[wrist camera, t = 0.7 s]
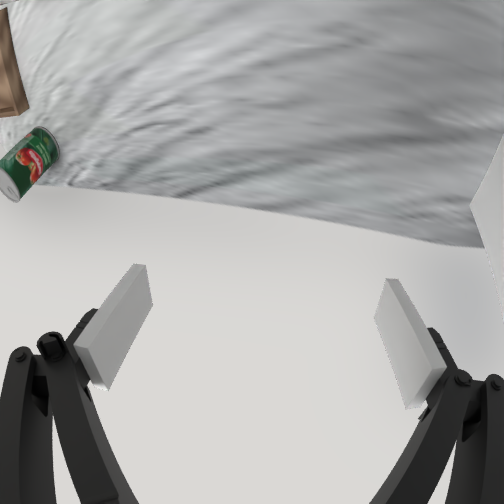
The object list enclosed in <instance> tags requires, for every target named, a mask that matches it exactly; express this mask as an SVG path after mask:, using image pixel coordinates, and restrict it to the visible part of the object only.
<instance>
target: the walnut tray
mask: <svg viewBox="0 0 504 504" xmlns="http://www.w3.org/2000/svg"><path fill="white" fill-rule="evenodd" d="M28 108H29V105H28V102H27V98H26V95H25V92H24V88H23V85H22V81H21V77H20V74H19V70H18V66H17V62H16V57H15V53H14V48H13V43H12V38H11V33H10V27H9V20H8V13H7V7H6V8H4V9H2V10H0V118H2V117H10V116H19V115H20V114H22V113H23V112H24V111H26V110H27V109H28Z"/></svg>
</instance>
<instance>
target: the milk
mask: <svg viewBox="0 0 504 504" xmlns="http://www.w3.org/2000/svg"><path fill="white" fill-rule="evenodd" d="M469 207H470V209H471V212H472V214H473V217H474V219H475V222H476V224H477V227H478V230H479V233H480V235H481V238H482V241H483V244H484V247H485V250H486V253H487V256H488V260H489V263H490V267H491V270H492V274H493V277H494V281H495V285H496V289H497V293H498V298H499V302H500V307H501V311H502V316H503V322H504V134H503V136H502V139H501V141H500V143H499V146H498V148H497V150H496V153H495V155H494V157H493V159H492V162H491V164H490V166H489V168H488V170H487V172H486V174H485V176H484V178H483V180H482V182H481V184H480V186H479V188H478V190H477V192H476V194H475V196H474V198H473V199H472V201H471V203H470V205H469Z"/></svg>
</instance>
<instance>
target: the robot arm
mask: <svg viewBox="0 0 504 504" xmlns="http://www.w3.org/2000/svg"><path fill="white" fill-rule="evenodd" d="M152 306H153V303H152V298H151V293H150V288H149V282H148V276H147V270H146V265H140V264H133V265H132V267H131V268H130V269H129V270H128V271H127V273H126V274H125V275H124V276H123V278H122V279H121V280H120V282H119V283H118V284H117V285H116V287H115V288H114V290H113V291H112V292H111V293H110V295H109V296H108V297H107V299H106V300H105V301H104V303H103V304H102V305H101V307H100V308H99V309H94V308H93V309H91V310H90V311H89V312H87V313H86V314H85V315H84V316H83V317H82V319H81V320H80V322H79V323H78V324H77V325H76V328H74V330H73V331H72V332H71V334H70V335H69V336H68V338H67V339H66V341H64V339H63V337H62V335H61V334H60V333H58V332H48V333H46V334H44V335H42V336H41V337H40V338H39V340H38V341H37V348H38V349H39V351H40V353H41V355H33V353H32V352H31V350H30V349H29V348H28V347H24V346H22V347H19V348H17V349H15V350H14V351H13V352H12V353H11V355H10V358H9V362H8V365H7V369H6V374H5V378H4V382H3V387H2V392H1V397H0V504H57V503H56V495H55V485H54V472H53V451H52V419H53V416H54V420H55V425H56V429H57V433H58V436H59V440H60V444H61V447H62V451H63V454H64V457H65V460H66V464H67V467H68V470H69V473H70V475H71V478H72V481H73V484H74V487H75V489H76V492H77V494H78V497H79V499H80V502H81V504H139V503H138V501H137V499H136V498H135V496H134V494H133V492H132V490H131V488H130V487H129V485H128V483H127V481H126V479H125V477H124V475H123V473H122V471H121V469H120V467H119V464H118V463H117V460H116V458H115V456H114V454H113V451H112V449H111V447H110V444H109V442H108V440H107V437H106V435H105V432H104V430H103V427H102V425H101V422H100V419H99V417H98V414H97V411H96V408H95V405H94V403H93V399H92V397H91V393H90V390H89V388H88V386H87V384H88V382H89V381H90V380H91V382H92V383H93V385H94V387H96V388H99V389H102V390H106V391H109V389H110V387H111V385H112V383H113V381H114V378H115V377H116V374H117V372H118V370H119V368H120V366H121V364H122V362H123V360H124V359H125V357H126V354H127V353H128V350H129V349H130V347H131V345H132V343H133V341H134V339H135V337H136V335H137V333H138V332H139V330H140V328H141V326H142V324H143V322H144V320H145V319H146V317H147V315H148V313H149V311H150V309H151V307H152ZM374 319H375V322H376V325H377V327H378V330H379V332H380V335H381V338H382V340H383V343H384V346H385V349H386V351H387V354H388V357H389V360H390V362H391V365H392V368H393V371H394V374H395V377H396V380H397V382H398V386H399V389H400V392H401V395H402V398H403V401H404V404H405V408H406V409H411V408H417V407H420V406H421V405H422V404H423V402H424V401H425V399H426V401H427V404H428V406H427V408H426V409H425V410H424V412H423V413H422V414H421V416H420V417H419V418H418V419H419V420H420V421H419V423H418V425H417V427H416V429H415V431H414V433H413V435H412V437H411V439H410V440H409V442H408V444H407V446H406V448H405V449H404V451H403V453H402V455H401V456H400V458H399V460H398V461H397V463H396V465H395V466H394V468H393V470H392V471H391V473H390V474H389V476H388V478H387V479H386V481H385V482H384V483H383V485H382V486H381V488H380V489H379V491H378V492H377V494H376V495H375V496H374V498H373V499H372V501H371V502H370V503H369V504H427V503H428V501H429V499H430V498H431V496H432V494H433V492H434V490H435V488H436V486H437V484H438V482H439V480H440V478H441V475H442V473H443V471H444V469H445V466H446V464H447V462H448V460H449V457H450V455H451V452H452V450H453V447H454V445H455V442H456V439H457V442H456V450H455V456H454V463H453V469H452V474H451V479H450V484H449V489H448V493H447V497H446V502H445V504H504V380H503V378H501V377H500V376H499V375H496V374H491V375H489V376H488V377H487V378H486V380H485V381H477V380H473V379H472V377H471V376H470V375H469V373H467V372H466V371H464V370H461V369H458V368H457V366H456V364H455V362H454V360H453V358H452V356H451V354H450V352H449V350H448V349H447V347H446V345H445V343H443V340H442V338H441V336H440V334H439V333H438V332H437V331H436V330H435V329H433V328H426V326H425V324H424V322H423V320H422V319H421V317H420V315H419V313H418V312H417V310H416V308H415V307H414V305H413V303H412V301H411V300H410V298H409V296H408V295H407V293H406V291H405V290H404V288H403V286H402V285H401V283H400V282H399V280H398V279H386V280H385V284H384V287H383V291H382V294H381V297H380V301H379V304H378V307H377V310H376V313H375V316H374Z"/></svg>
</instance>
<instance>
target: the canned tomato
mask: <svg viewBox="0 0 504 504" xmlns="http://www.w3.org/2000/svg"><path fill="white" fill-rule="evenodd" d="M58 158H59V147H58V144H57V142H56V140H55V138H54V137H53V136H52V134H51V133H50V132H49V131H48V130H47V129H45V128H43V127H36V128H34V129H33V130H32V131H31V132H30V133H29V134H27V135H26V136H25V137H24V138H23V139H22V140H21V141H20V142H18V144H17V145H15V146H14V147H13V148H12V149H11V150H10V151H9V152H8V153H7V154H6V155H5V156H4V157H3V158H2V159H1V160H0V190H1V192H2V193H3V194H4V195H5V196H6V197H7V198H8V199H10V200H11V201H13V202H19V201H20V199H21V198H22V197H23V195H24V194H25V193H26V192H27V191H28V190H29V189H30V188H31V187H32V185H33V184H34V183H35V182H36V181H37V180H38V179H39V178H40V177H41V176H42V175H43V173H44V172H45V171H46V170H47V169H48V168H49V167H50V166H51V165H52V164H53V163H54V162H55V161H56V160H57V159H58Z"/></svg>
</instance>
